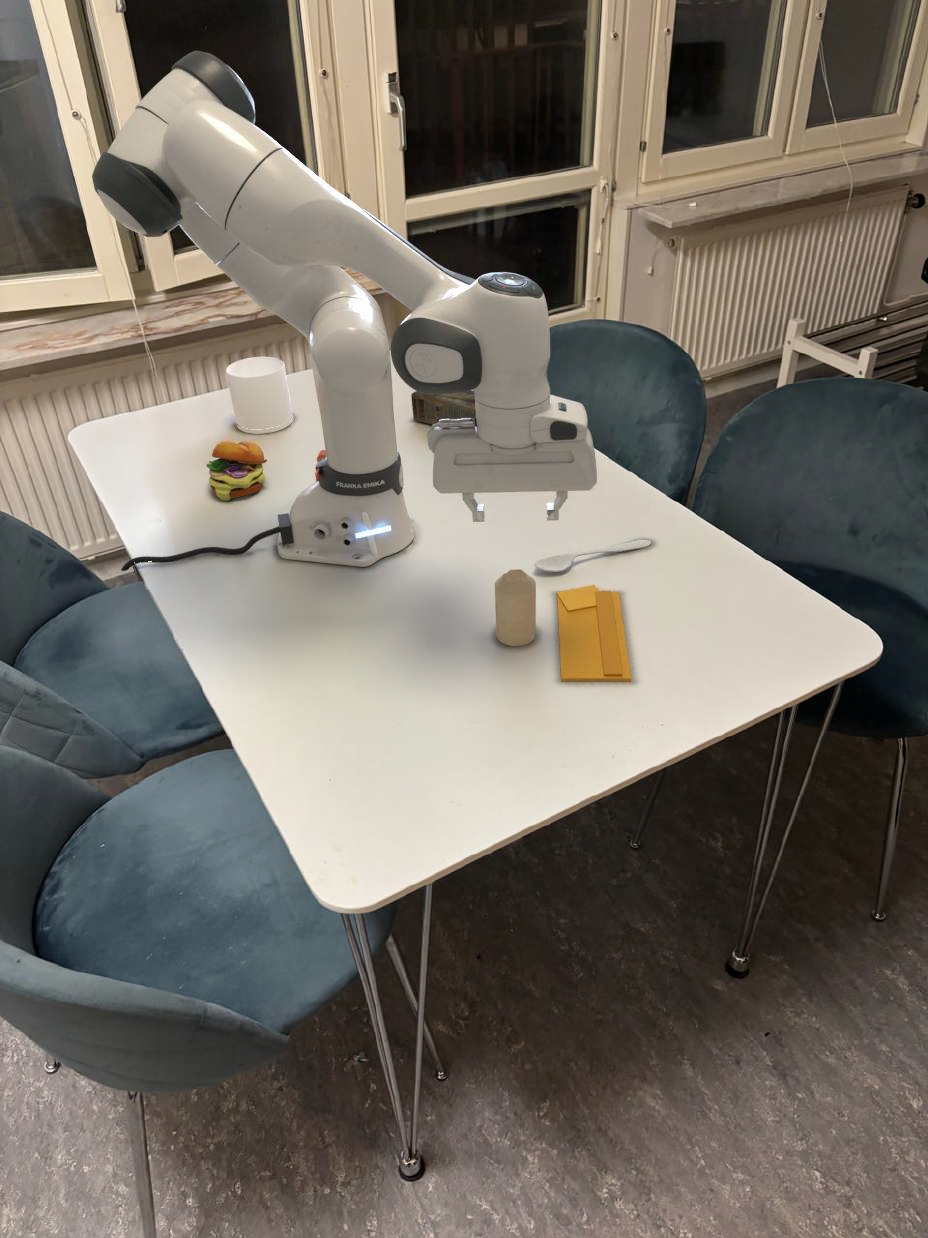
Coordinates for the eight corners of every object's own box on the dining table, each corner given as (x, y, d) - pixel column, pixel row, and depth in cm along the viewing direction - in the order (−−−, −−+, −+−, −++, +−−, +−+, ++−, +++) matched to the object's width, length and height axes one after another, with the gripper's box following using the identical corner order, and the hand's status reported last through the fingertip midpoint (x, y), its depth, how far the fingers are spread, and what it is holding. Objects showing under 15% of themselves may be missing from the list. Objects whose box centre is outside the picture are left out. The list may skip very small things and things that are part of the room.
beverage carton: (488, 441, 178) (487, 409, 174) (410, 421, 187) (408, 391, 183) (510, 426, 183) (509, 395, 179) (433, 408, 192) (431, 378, 188)
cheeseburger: (196, 498, 163) (192, 442, 159) (231, 485, 172) (228, 432, 169) (244, 505, 160) (240, 449, 156) (277, 492, 169) (275, 438, 165)
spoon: (528, 567, 140) (528, 558, 139) (643, 536, 146) (643, 527, 145) (540, 580, 137) (540, 571, 136) (657, 548, 143) (658, 539, 142)
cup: (239, 413, 194) (228, 358, 187) (294, 408, 195) (285, 354, 188) (234, 436, 185) (222, 379, 178) (291, 431, 186) (282, 374, 178)
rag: (560, 681, 118) (560, 675, 118) (555, 589, 135) (556, 584, 135) (631, 681, 117) (631, 676, 117) (617, 589, 135) (617, 584, 134)
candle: (532, 648, 124) (532, 587, 118) (492, 645, 125) (491, 584, 119) (538, 625, 128) (538, 565, 122) (499, 621, 129) (498, 562, 123)
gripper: (423, 430, 106) (432, 533, 114) (600, 426, 104) (596, 530, 112) (428, 409, 111) (436, 508, 119) (596, 404, 109) (593, 505, 117)
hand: (515, 519), depth 116 cm, fingers open, 8 cm apart
